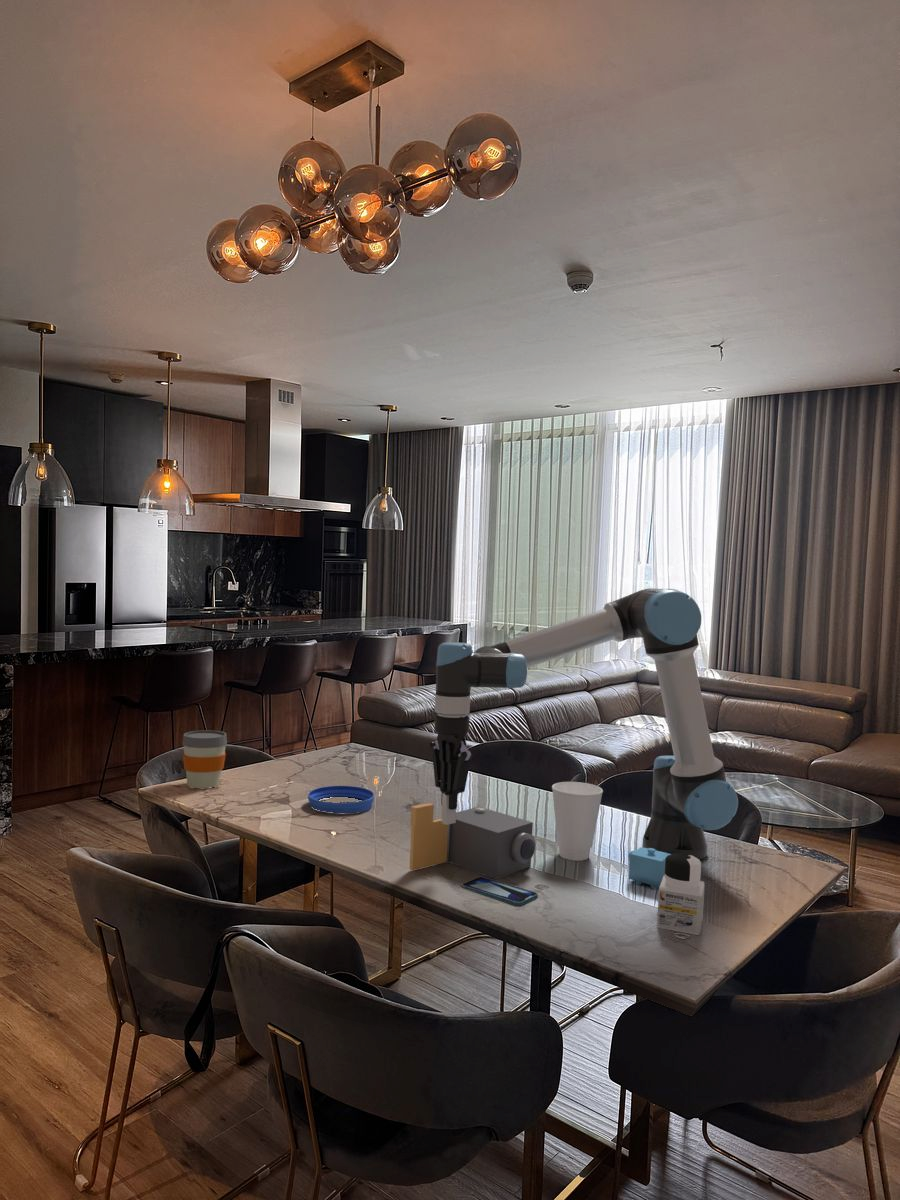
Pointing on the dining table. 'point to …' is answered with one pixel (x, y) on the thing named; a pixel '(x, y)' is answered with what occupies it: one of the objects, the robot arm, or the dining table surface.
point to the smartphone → (500, 890)
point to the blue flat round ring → (341, 791)
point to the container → (681, 895)
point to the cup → (576, 817)
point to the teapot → (647, 866)
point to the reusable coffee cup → (204, 757)
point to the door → (428, 838)
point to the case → (491, 842)
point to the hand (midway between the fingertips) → (448, 822)
